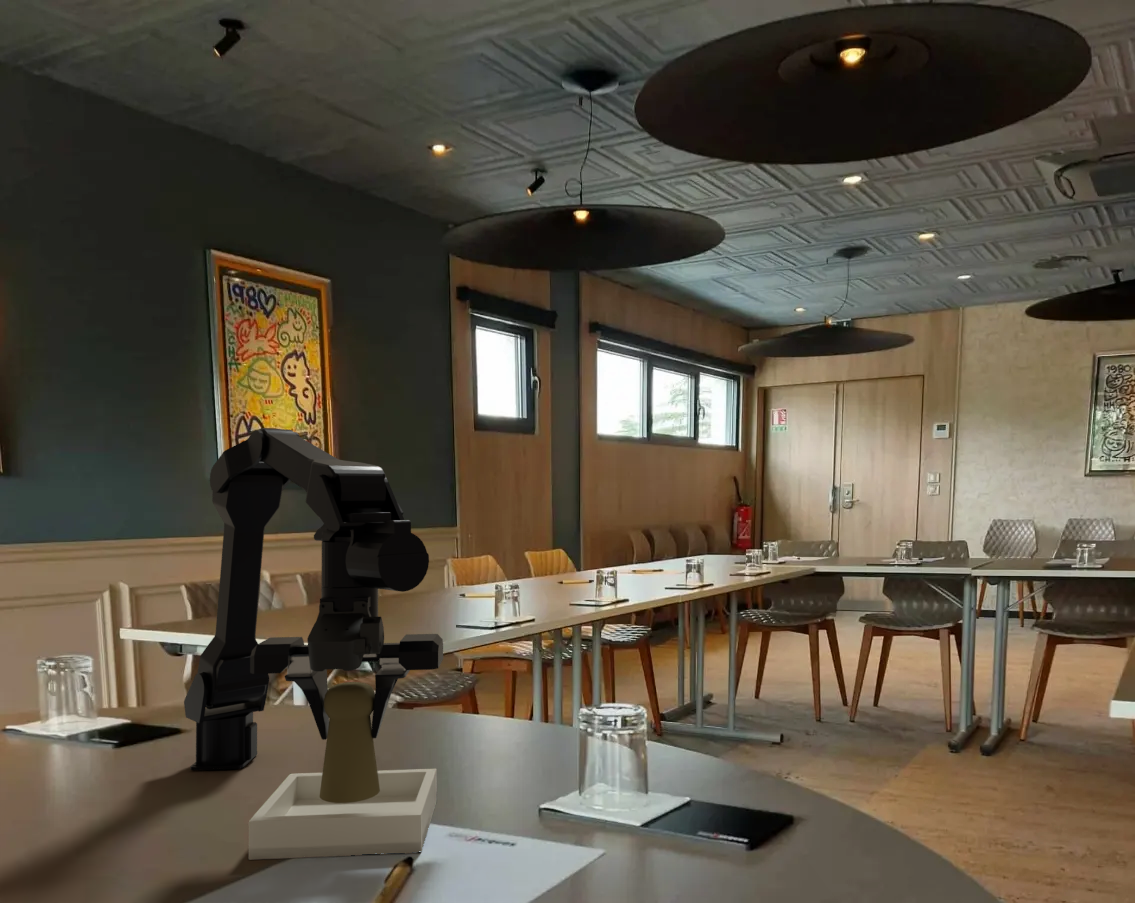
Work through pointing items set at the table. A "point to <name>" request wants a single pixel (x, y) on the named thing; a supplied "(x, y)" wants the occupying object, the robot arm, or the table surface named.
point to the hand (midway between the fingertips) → (350, 738)
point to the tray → (344, 818)
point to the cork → (349, 745)
